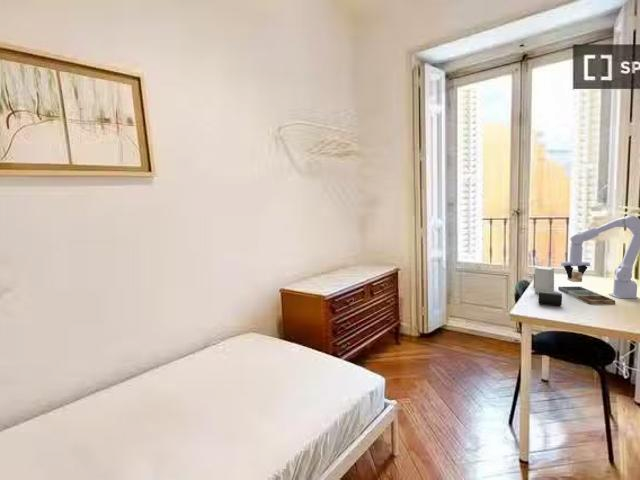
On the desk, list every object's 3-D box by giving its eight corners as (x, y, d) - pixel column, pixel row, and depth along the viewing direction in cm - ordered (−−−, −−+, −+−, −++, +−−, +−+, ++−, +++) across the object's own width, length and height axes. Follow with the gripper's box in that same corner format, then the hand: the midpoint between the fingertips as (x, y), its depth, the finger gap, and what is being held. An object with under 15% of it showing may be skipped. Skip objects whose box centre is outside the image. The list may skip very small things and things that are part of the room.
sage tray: (590, 294, 205) (591, 290, 205) (602, 298, 196) (602, 295, 196) (568, 294, 206) (568, 290, 206) (578, 298, 197) (578, 295, 197)
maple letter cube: (576, 279, 212) (577, 271, 212) (581, 281, 208) (582, 273, 207) (567, 279, 213) (567, 271, 212) (572, 281, 208) (573, 273, 207)
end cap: (538, 305, 188) (538, 292, 187) (538, 301, 194) (538, 289, 193) (561, 308, 183) (562, 294, 182) (560, 304, 189) (561, 291, 189)
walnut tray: (602, 299, 196) (603, 295, 195) (615, 304, 187) (615, 300, 186) (578, 299, 197) (578, 295, 196) (589, 304, 188) (589, 300, 187)
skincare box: (554, 293, 208) (555, 268, 206) (548, 295, 205) (550, 269, 203) (538, 291, 215) (539, 266, 213) (533, 292, 212) (534, 267, 210)
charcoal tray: (580, 289, 215) (580, 286, 215) (590, 294, 206) (590, 290, 206) (558, 289, 216) (558, 286, 216) (567, 294, 207) (567, 290, 207)
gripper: (566, 256, 205) (565, 280, 207) (594, 255, 204) (592, 279, 205) (559, 254, 212) (558, 277, 214) (586, 253, 211) (584, 277, 212)
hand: (574, 278), depth 210 cm, fingers closed on maple letter cube, 5 cm apart
